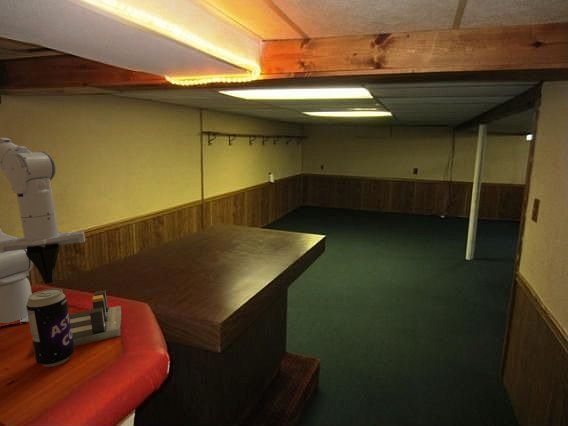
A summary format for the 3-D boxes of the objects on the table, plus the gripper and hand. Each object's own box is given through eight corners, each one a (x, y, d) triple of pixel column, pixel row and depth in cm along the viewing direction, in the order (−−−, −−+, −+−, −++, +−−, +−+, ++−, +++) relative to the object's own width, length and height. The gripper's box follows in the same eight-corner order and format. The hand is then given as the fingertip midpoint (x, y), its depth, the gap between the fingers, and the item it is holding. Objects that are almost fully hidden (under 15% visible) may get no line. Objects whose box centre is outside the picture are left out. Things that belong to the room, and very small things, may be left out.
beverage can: (57, 370, 61) (45, 301, 59) (28, 368, 62) (16, 300, 60) (82, 351, 67) (72, 287, 65) (55, 350, 68) (44, 287, 66)
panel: (48, 325, 78) (43, 300, 77) (121, 311, 83) (117, 287, 82) (34, 355, 66) (29, 325, 65) (120, 336, 72) (116, 309, 71)
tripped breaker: (95, 317, 76) (92, 296, 76) (106, 315, 77) (103, 294, 76) (95, 321, 74) (91, 299, 74) (106, 319, 75) (103, 297, 74)
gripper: (-15, 223, 66) (-1, 295, 69) (78, 213, 72) (88, 281, 74) (-2, 217, 73) (10, 283, 75) (82, 208, 78) (91, 271, 80)
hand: (49, 282), depth 75 cm, fingers closed
